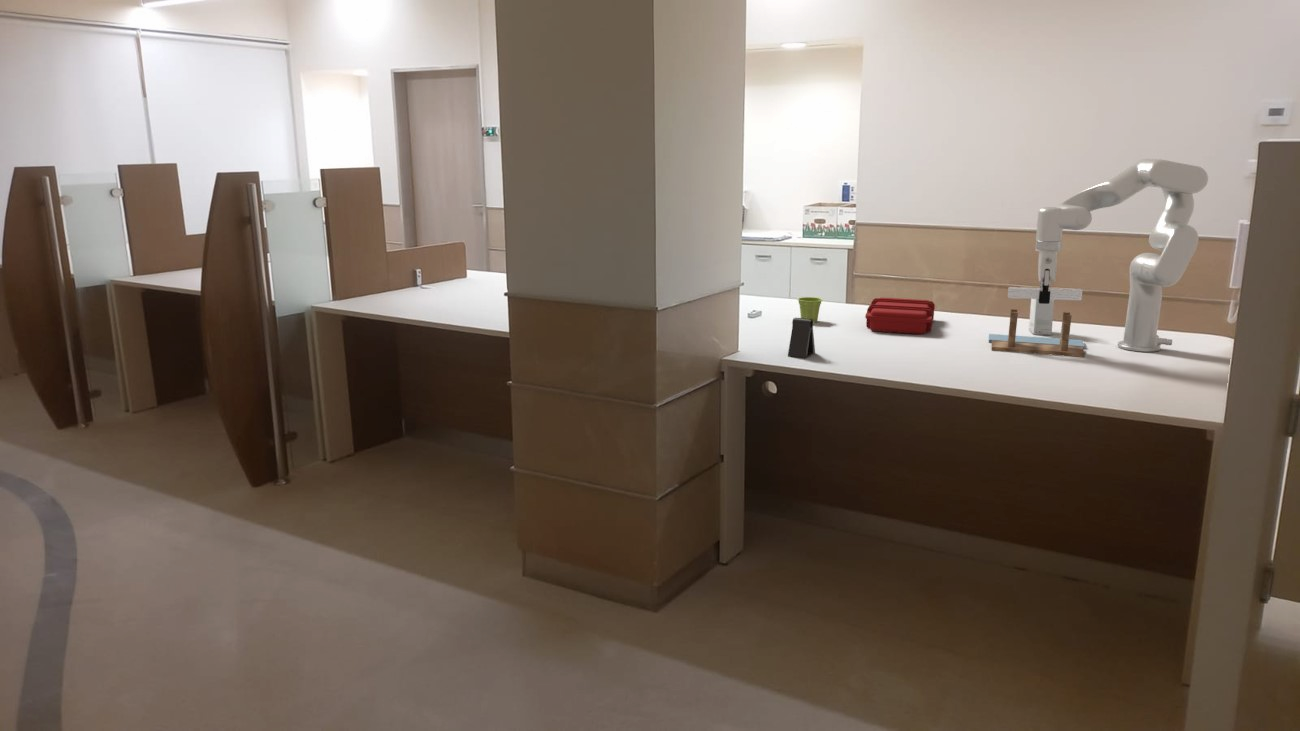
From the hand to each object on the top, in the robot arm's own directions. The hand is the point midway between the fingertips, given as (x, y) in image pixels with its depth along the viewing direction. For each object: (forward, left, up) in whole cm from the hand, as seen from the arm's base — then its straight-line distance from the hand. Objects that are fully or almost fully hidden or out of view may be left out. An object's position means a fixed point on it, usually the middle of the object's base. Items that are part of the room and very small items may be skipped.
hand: (1043, 301), depth 293 cm
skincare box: (-1, -30, -17) cm, 34 cm away
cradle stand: (+1, 0, -16) cm, 16 cm away
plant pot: (+81, -23, -17) cm, 85 cm away
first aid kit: (+47, -26, -17) cm, 56 cm away
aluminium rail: (0, 0, +1) cm, 1 cm away
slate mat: (+1, -12, -16) cm, 20 cm away
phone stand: (+73, +32, -17) cm, 81 cm away
